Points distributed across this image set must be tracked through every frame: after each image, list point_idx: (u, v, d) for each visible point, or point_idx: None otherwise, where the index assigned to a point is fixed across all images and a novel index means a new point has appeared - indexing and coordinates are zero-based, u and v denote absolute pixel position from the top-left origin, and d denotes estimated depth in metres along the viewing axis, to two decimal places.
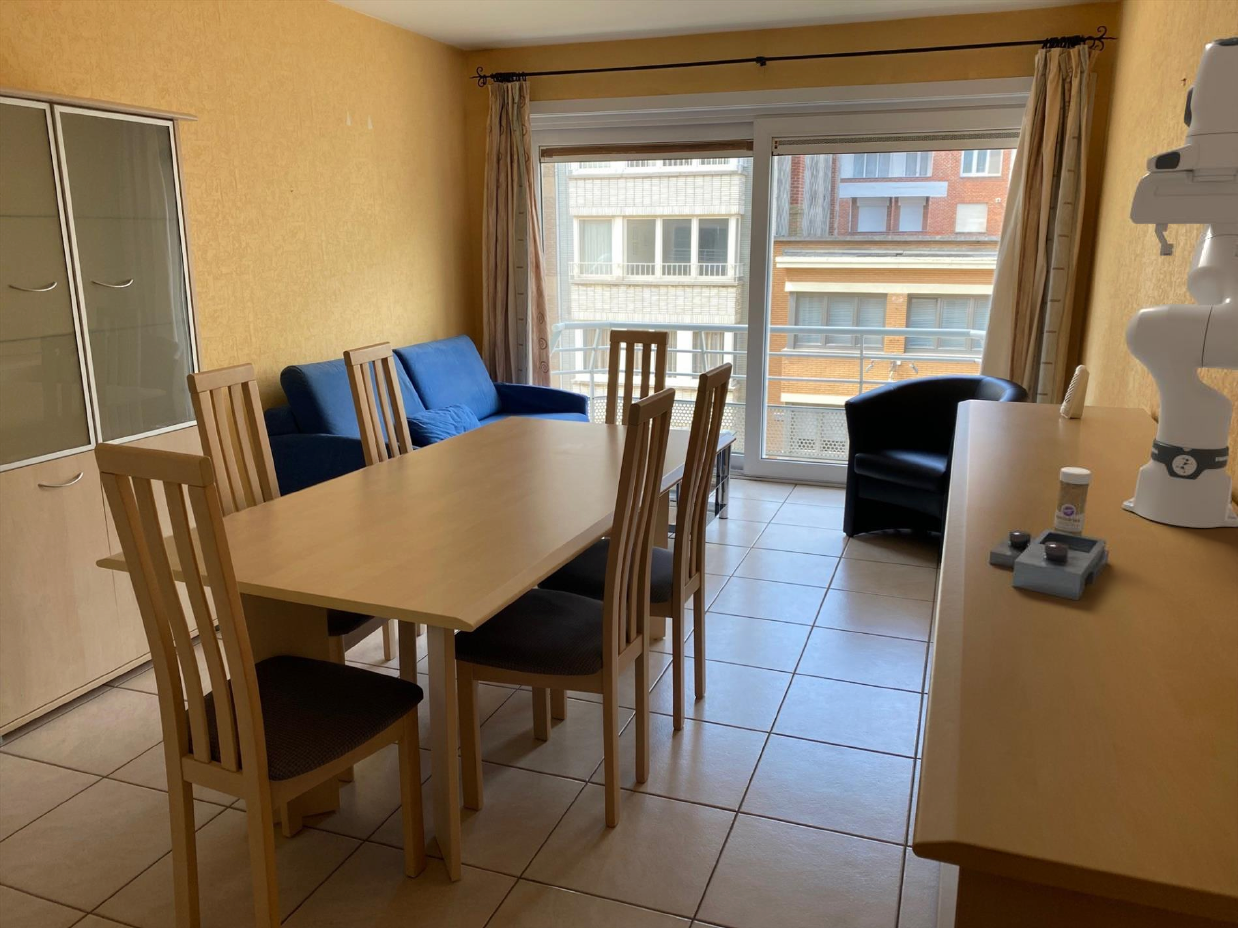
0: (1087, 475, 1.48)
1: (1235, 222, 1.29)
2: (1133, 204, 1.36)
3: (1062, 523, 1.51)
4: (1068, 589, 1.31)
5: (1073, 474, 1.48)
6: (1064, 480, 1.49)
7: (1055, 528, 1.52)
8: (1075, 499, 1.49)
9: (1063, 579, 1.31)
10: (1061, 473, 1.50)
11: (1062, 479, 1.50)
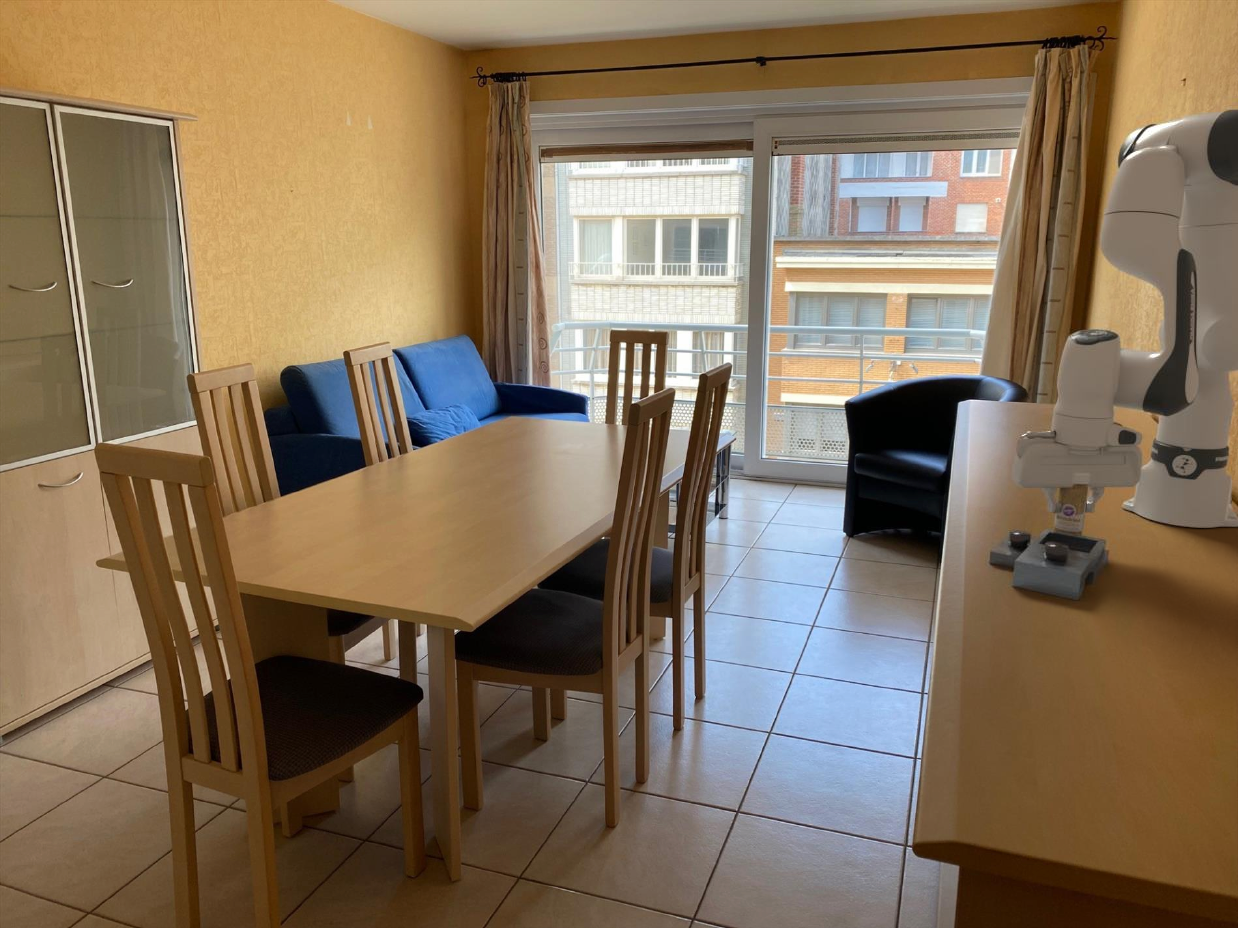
0: (1087, 475, 1.48)
1: None
2: None
3: (1062, 523, 1.50)
4: (1068, 589, 1.31)
5: (1073, 474, 1.48)
6: None
7: (1055, 528, 1.52)
8: (1075, 499, 1.49)
9: (1063, 579, 1.31)
10: None
11: None
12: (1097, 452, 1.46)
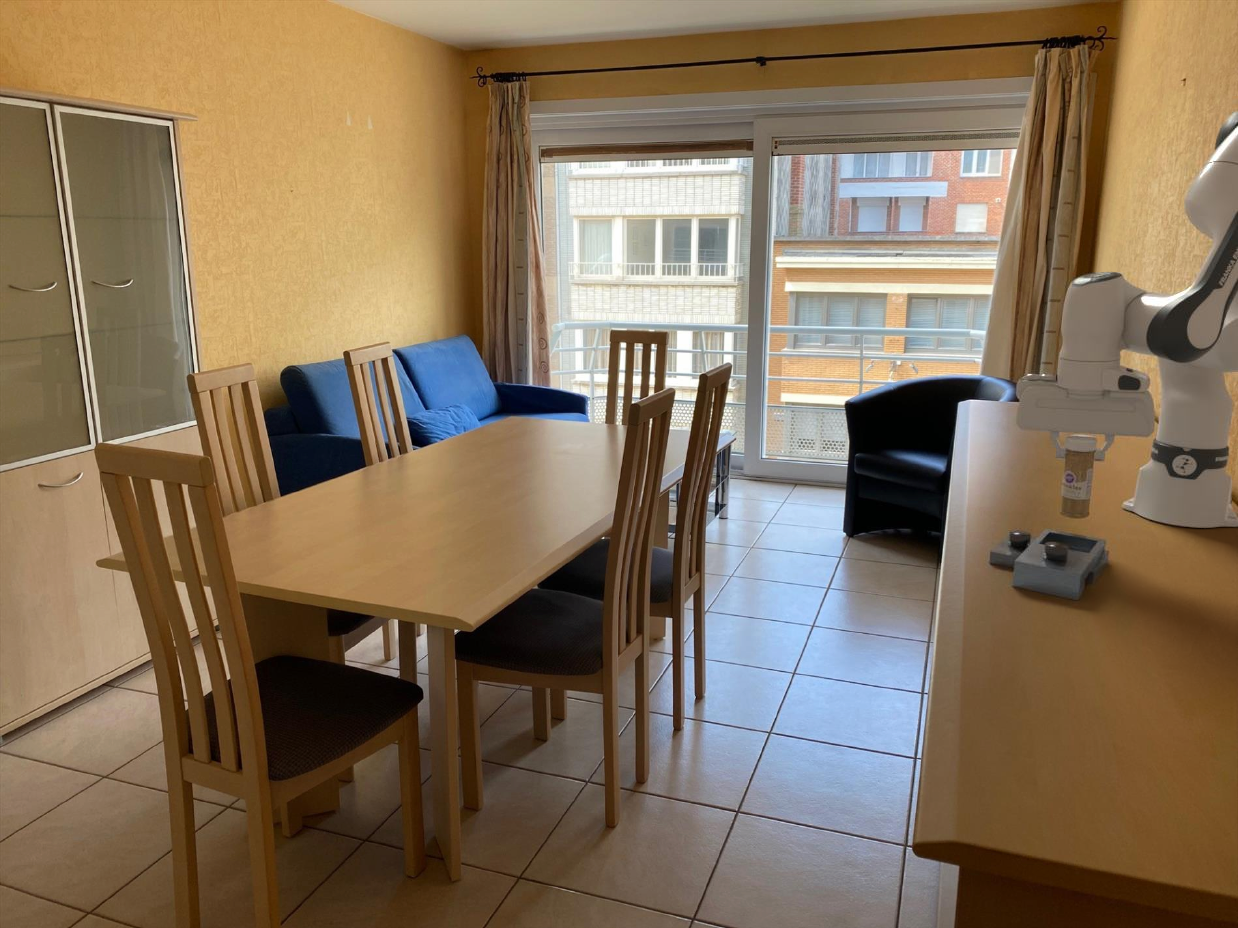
0: (1087, 442, 1.46)
1: None
2: None
3: (1065, 490, 1.50)
4: (1068, 589, 1.31)
5: (1072, 441, 1.47)
6: (1066, 447, 1.49)
7: None
8: (1075, 467, 1.48)
9: (1063, 579, 1.31)
10: None
11: (1065, 446, 1.49)
12: (1097, 397, 1.44)
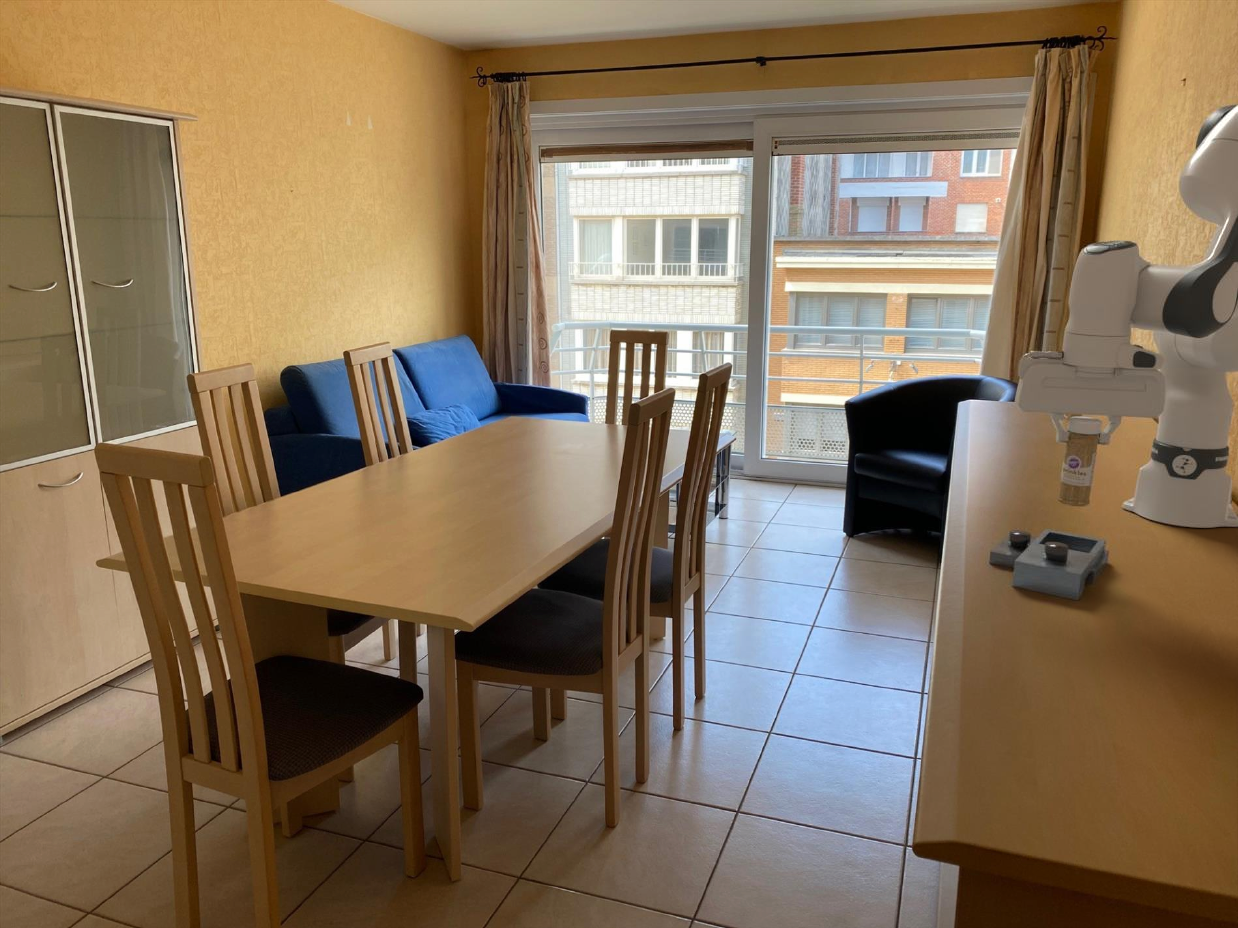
0: (1095, 424, 1.36)
1: None
2: None
3: (1067, 476, 1.39)
4: (1068, 589, 1.31)
5: (1078, 423, 1.36)
6: (1070, 429, 1.38)
7: (1061, 482, 1.41)
8: (1081, 451, 1.37)
9: (1063, 579, 1.31)
10: (1068, 422, 1.39)
11: (1068, 428, 1.38)
12: (1108, 375, 1.33)
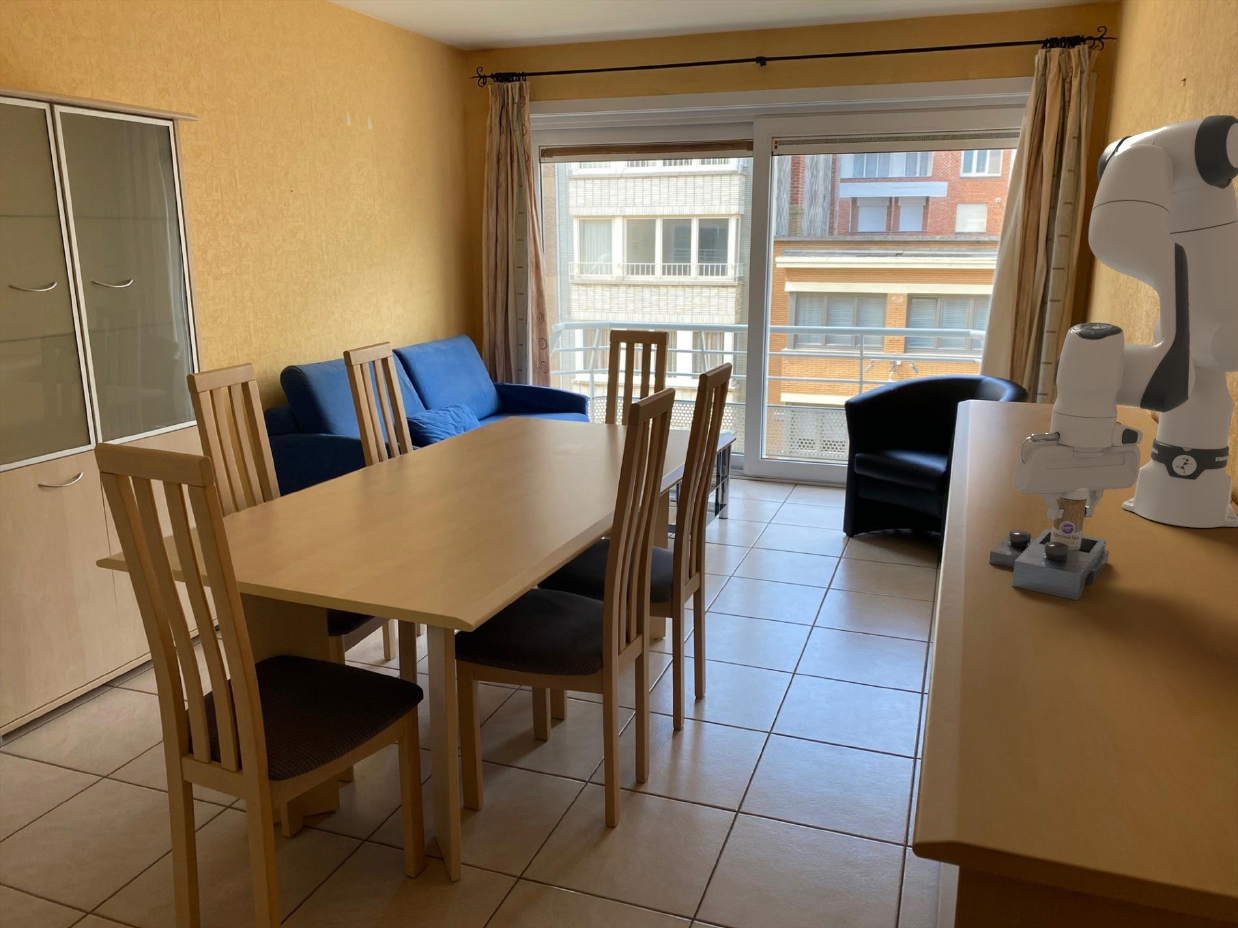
0: (1087, 489, 1.39)
1: None
2: None
3: (1061, 541, 1.42)
4: (1068, 589, 1.31)
5: None
6: (1063, 496, 1.40)
7: None
8: (1075, 516, 1.40)
9: (1063, 579, 1.31)
10: None
11: (1060, 495, 1.41)
12: (1101, 453, 1.37)
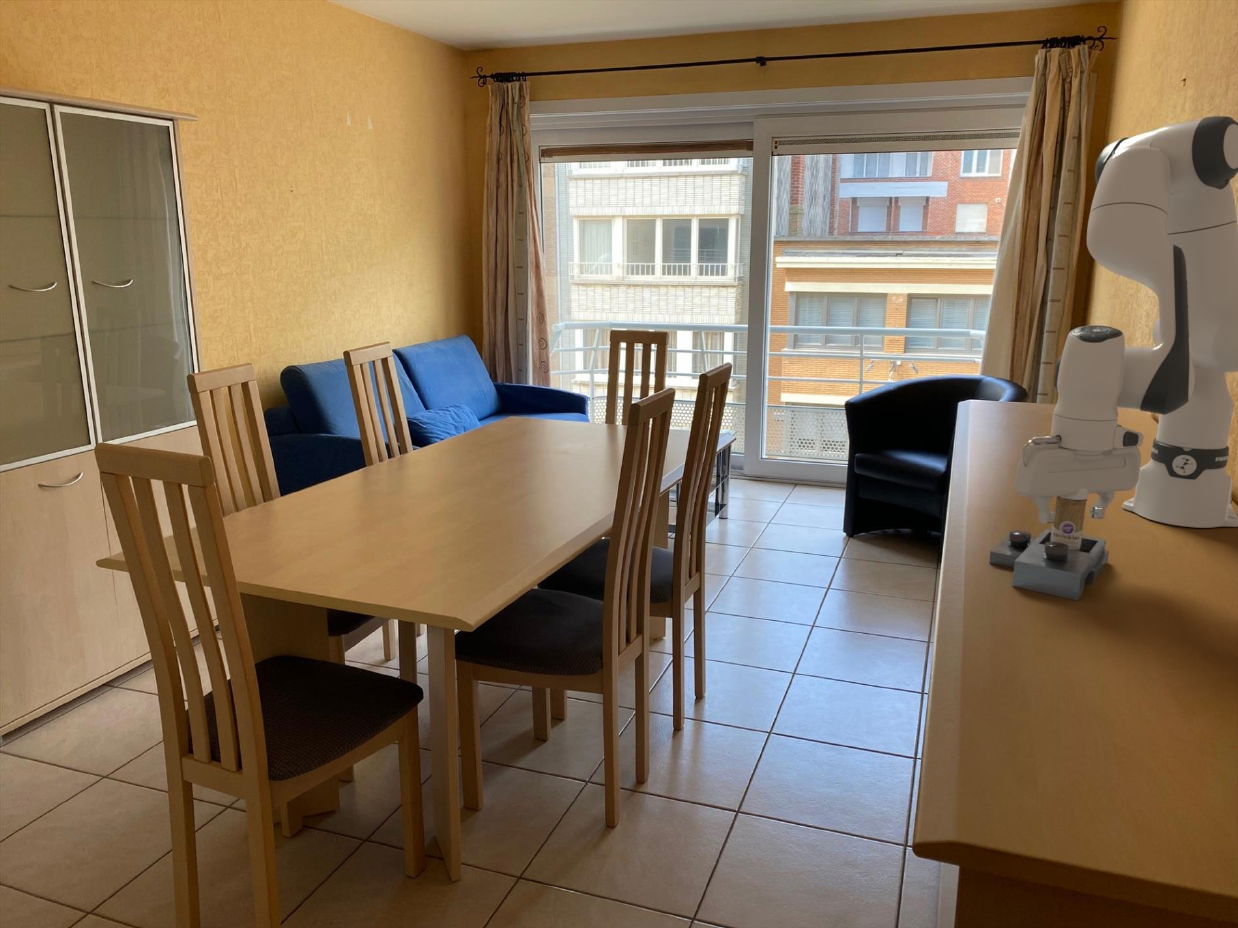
0: None
1: None
2: None
3: (1061, 541, 1.42)
4: (1068, 589, 1.31)
5: None
6: (1063, 496, 1.40)
7: None
8: (1075, 516, 1.40)
9: (1063, 579, 1.31)
10: None
11: None
12: (1102, 456, 1.37)
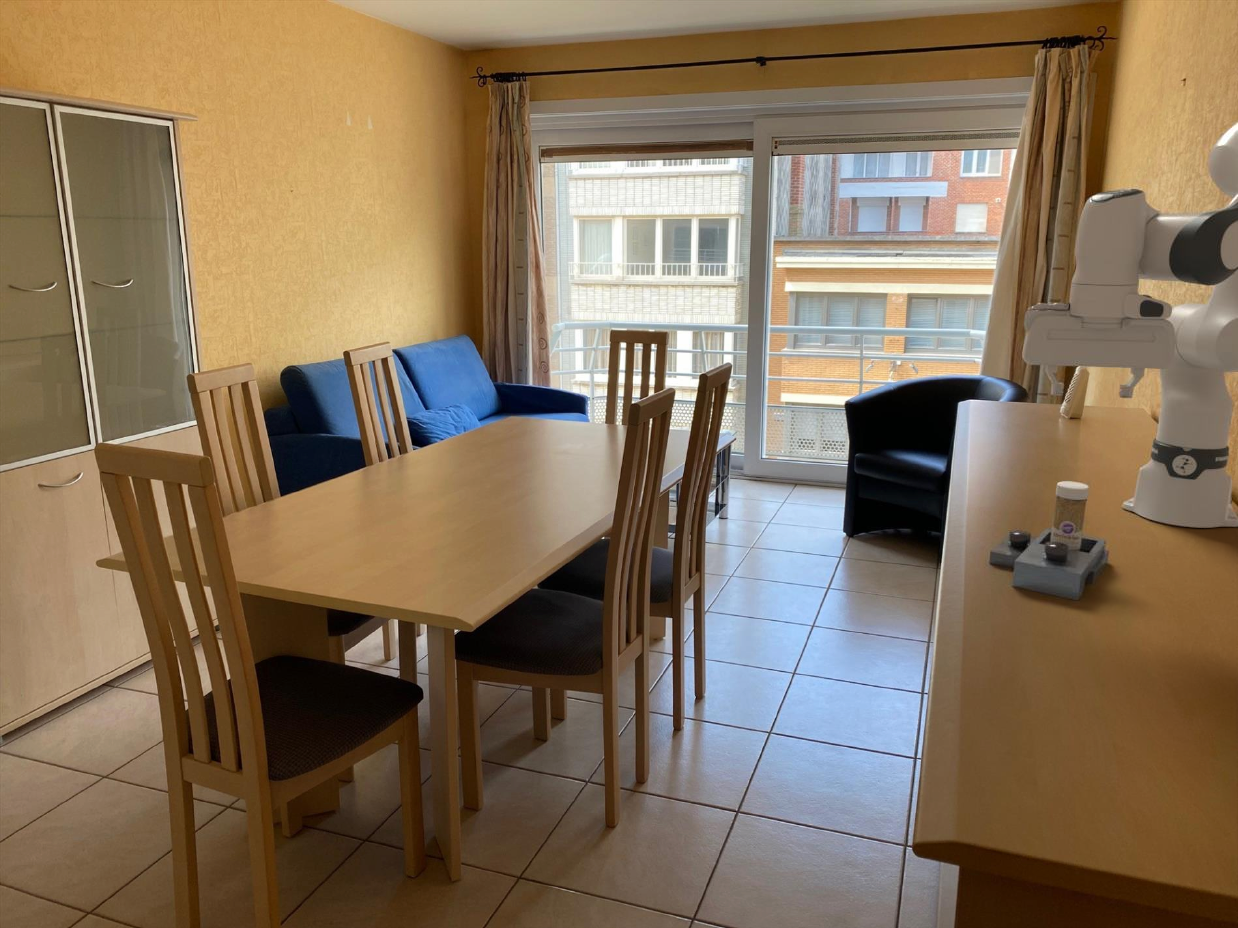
0: (1087, 489, 1.39)
1: None
2: None
3: (1061, 541, 1.42)
4: (1068, 589, 1.31)
5: (1073, 490, 1.39)
6: (1063, 496, 1.40)
7: None
8: (1075, 516, 1.40)
9: (1063, 579, 1.31)
10: (1058, 488, 1.41)
11: (1060, 495, 1.41)
12: (1115, 326, 1.32)
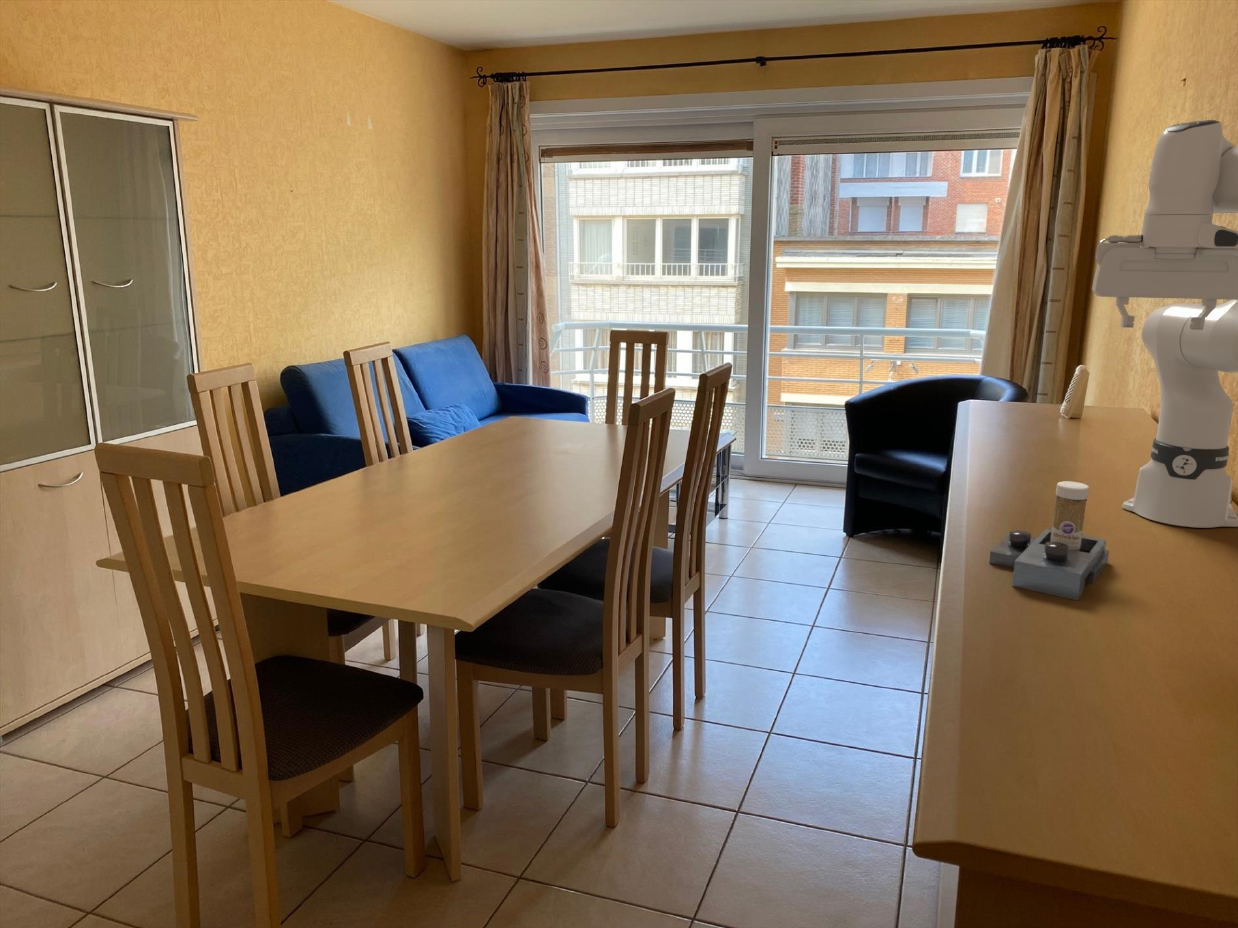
0: (1087, 489, 1.39)
1: None
2: None
3: (1061, 541, 1.42)
4: (1068, 589, 1.31)
5: (1073, 490, 1.39)
6: (1063, 496, 1.40)
7: None
8: (1075, 516, 1.40)
9: (1063, 579, 1.31)
10: (1058, 488, 1.41)
11: (1060, 495, 1.41)
12: (1189, 256, 1.34)
